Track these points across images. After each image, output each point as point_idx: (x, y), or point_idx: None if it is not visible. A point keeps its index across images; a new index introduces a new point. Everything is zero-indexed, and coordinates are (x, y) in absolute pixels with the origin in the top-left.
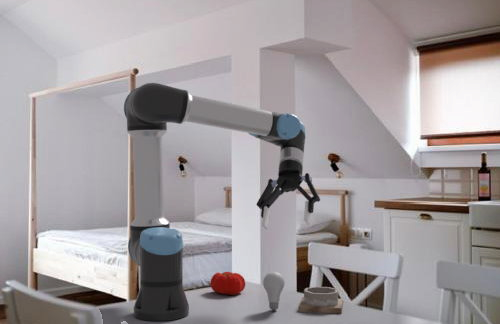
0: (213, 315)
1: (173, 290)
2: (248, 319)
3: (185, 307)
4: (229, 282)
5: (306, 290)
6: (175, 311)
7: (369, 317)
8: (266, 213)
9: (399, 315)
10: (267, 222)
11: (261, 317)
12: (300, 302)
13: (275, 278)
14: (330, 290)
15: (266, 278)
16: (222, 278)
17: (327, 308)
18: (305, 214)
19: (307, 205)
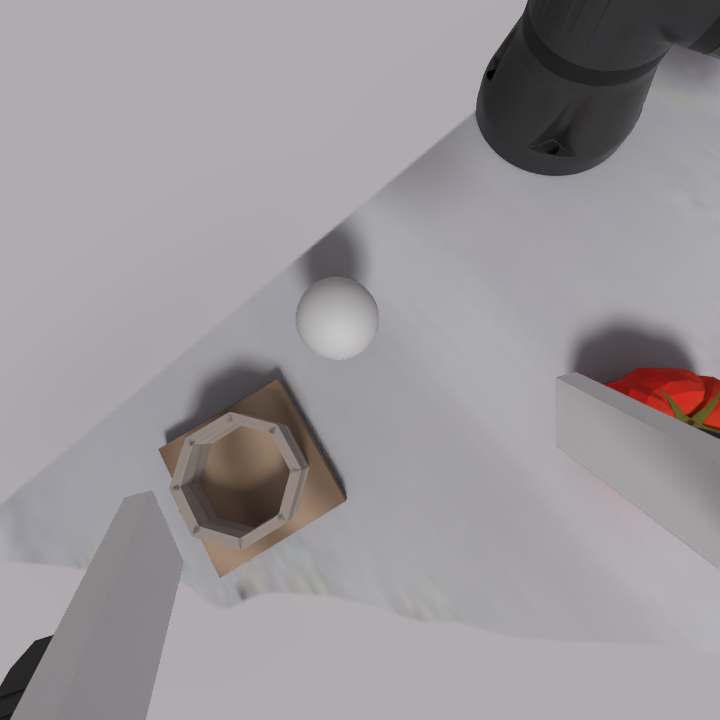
0: (439, 192)
1: (517, 34)
2: (338, 224)
3: (489, 115)
4: (619, 384)
5: (276, 439)
6: (482, 81)
7: (81, 465)
8: (676, 458)
9: (15, 549)
10: (595, 449)
11: (324, 262)
12: (302, 426)
13: (308, 290)
14: (228, 532)
15: (343, 277)
16: (661, 375)
17: (198, 426)
18: (114, 542)
19: (30, 685)
